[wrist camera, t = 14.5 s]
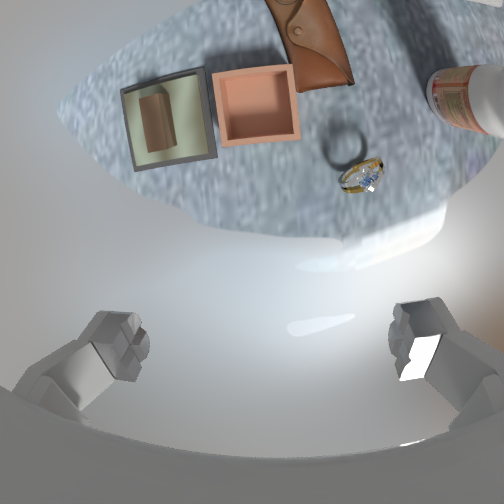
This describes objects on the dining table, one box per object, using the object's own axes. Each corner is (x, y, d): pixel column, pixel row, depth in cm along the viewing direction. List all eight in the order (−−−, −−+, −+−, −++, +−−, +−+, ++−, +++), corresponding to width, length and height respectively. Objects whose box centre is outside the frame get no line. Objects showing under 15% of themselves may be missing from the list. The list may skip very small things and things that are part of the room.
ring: (369, 147, 37) (387, 157, 30) (378, 166, 38) (397, 179, 31) (329, 168, 40) (339, 182, 33) (339, 187, 41) (350, 204, 34)
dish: (291, 69, 33) (292, 63, 29) (298, 136, 38) (300, 139, 33) (220, 77, 35) (211, 73, 30) (229, 142, 39) (222, 147, 35)
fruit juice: (430, 58, 28) (568, 44, 4) (474, 87, 29) (607, 108, 4) (418, 109, 33) (562, 140, 9) (462, 135, 33) (595, 191, 9)
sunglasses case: (257, -8, 27) (279, -28, 21) (296, -8, 29) (321, -25, 23) (297, 97, 35) (326, 89, 29) (333, 89, 37) (364, 83, 31)
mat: (204, 67, 34) (204, 67, 34) (217, 157, 40) (217, 158, 40) (121, 90, 36) (120, 90, 36) (135, 171, 42) (134, 172, 42)
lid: (198, 75, 34) (188, 71, 30) (210, 152, 40) (201, 158, 36) (126, 94, 36) (110, 94, 32) (138, 165, 41) (124, 172, 37)
